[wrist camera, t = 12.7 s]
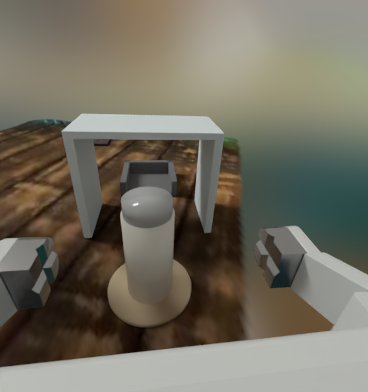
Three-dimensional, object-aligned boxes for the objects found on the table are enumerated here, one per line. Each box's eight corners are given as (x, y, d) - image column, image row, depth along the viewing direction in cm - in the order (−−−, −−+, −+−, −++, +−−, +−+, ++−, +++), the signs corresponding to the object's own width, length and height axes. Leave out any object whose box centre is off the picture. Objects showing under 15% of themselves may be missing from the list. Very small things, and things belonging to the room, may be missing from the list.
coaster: (144, 348, 21) (144, 344, 21) (92, 287, 26) (91, 284, 26) (207, 287, 27) (207, 284, 26) (154, 248, 32) (154, 244, 32)
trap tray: (176, 195, 44) (177, 181, 43) (121, 197, 43) (120, 182, 41) (172, 173, 53) (172, 160, 51) (126, 173, 51) (125, 160, 50)
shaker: (147, 313, 23) (142, 222, 18) (118, 284, 26) (107, 197, 20) (181, 284, 26) (186, 199, 21) (152, 261, 29) (150, 180, 23)
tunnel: (211, 232, 35) (224, 133, 28) (84, 238, 33) (61, 131, 25) (200, 200, 43) (208, 116, 35) (96, 203, 41) (81, 113, 33)
